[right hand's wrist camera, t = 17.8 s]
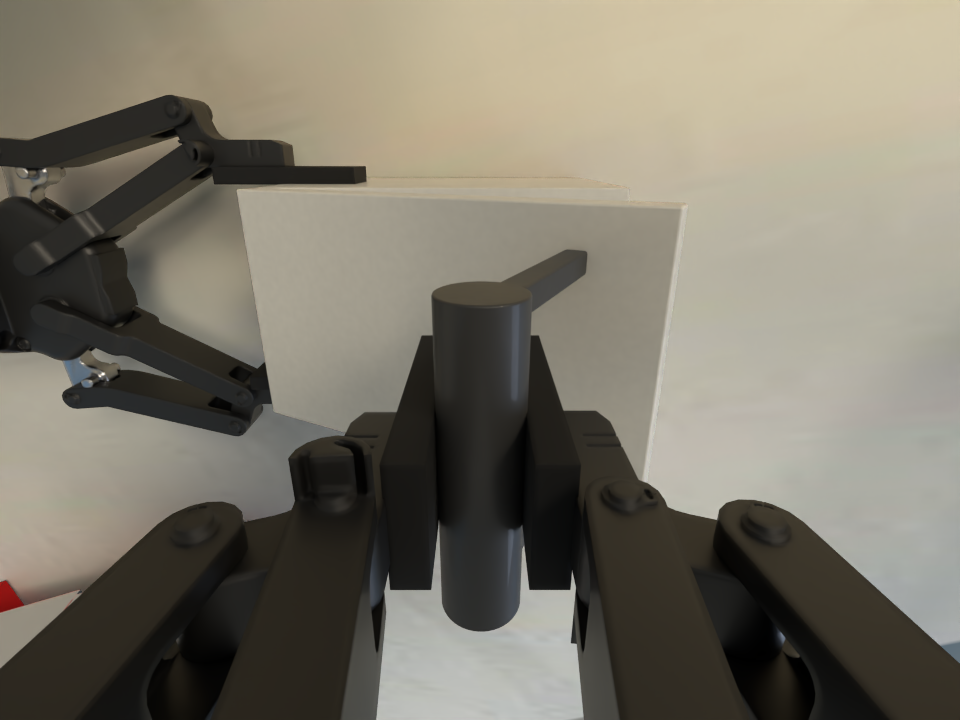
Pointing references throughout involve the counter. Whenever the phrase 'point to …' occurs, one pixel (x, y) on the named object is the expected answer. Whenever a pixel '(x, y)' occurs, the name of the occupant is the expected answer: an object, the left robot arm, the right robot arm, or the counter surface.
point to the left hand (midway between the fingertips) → (369, 281)
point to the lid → (466, 336)
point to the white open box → (483, 187)
